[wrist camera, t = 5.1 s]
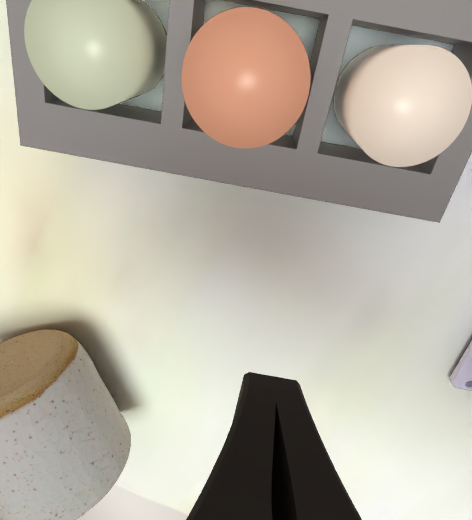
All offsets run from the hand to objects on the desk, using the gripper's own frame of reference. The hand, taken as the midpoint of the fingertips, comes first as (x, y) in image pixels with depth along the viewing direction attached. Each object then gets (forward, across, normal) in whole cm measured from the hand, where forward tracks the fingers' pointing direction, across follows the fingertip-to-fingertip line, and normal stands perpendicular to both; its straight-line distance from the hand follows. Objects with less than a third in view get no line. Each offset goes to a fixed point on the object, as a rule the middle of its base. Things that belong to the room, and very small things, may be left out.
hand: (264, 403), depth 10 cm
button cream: (+10, -3, -7) cm, 13 cm away
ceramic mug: (+11, +11, +13) cm, 20 cm away
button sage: (+10, +7, -7) cm, 14 cm away
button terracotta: (+9, +2, -7) cm, 11 cm away
